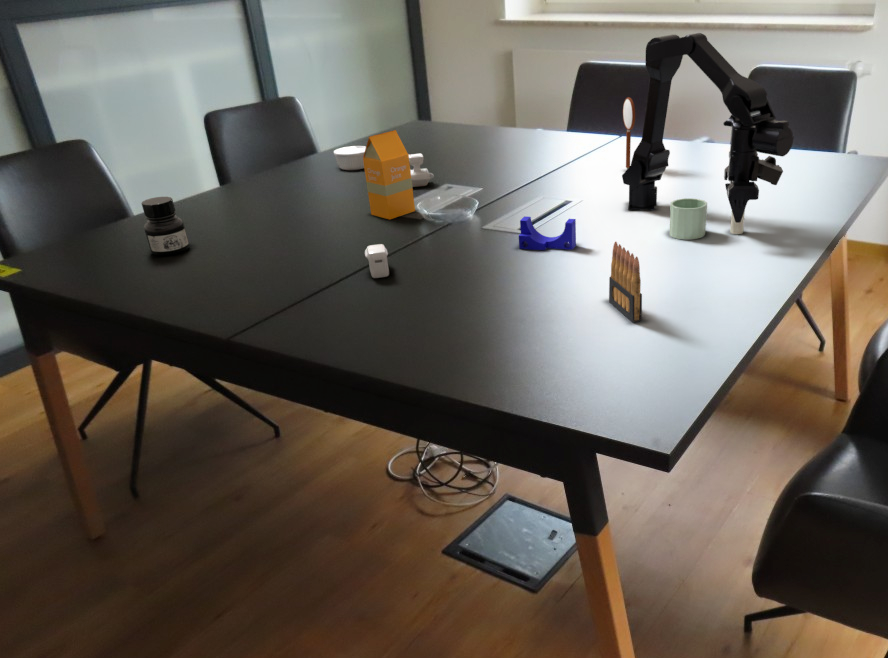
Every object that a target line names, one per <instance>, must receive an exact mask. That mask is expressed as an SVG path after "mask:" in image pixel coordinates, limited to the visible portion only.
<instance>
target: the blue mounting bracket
mask: <svg viewBox="0 0 888 658" xmlns="http://www.w3.org/2000/svg"><path fill="white" fill-rule="evenodd" d="M576 221H577V220H576V218H568V219H567V220H566V221H565V222H564V229H563V231H562V233H561V234H559V235H557V236H546V235H544V234H542V233H540V232H539V231H538V230H537V229H536V228H535V227H534V225H533V222H532V217H531V216H523V217H522V218H521V219H520V221H519V225H520V227H519V228H520V233H519V234H518V248H519V249H520V250H534V251H546V250H547V249H555V250H574V249H575V247H576V246H577V226H576V225H577V222H576Z"/></svg>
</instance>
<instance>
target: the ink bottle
mask: <svg viewBox="0 0 888 658" xmlns="http://www.w3.org/2000/svg"><path fill="white" fill-rule="evenodd" d="M140 204H141V206H142V211H143V213H144V214H143V215H144V216H145V219H146V222H145V223H144V226H143V229H144V233H145V237H146V240H147V244H148V246H149V250H150V252H151V254H152V255H155V256H161V257H164V256H172V255H176V254H181V253H183V252H185V251H187V250H188V249H189V248H190V242H189V238H188V235H187V231H186V227H185V223H184V221H183V220H182V218H180V217H178V216H177V215H176V214H177V212H176V207H175V204H174V200H173V198H172V197H171V196H155V197H151V198H147V199H145V200H143V201H141V203H140Z"/></svg>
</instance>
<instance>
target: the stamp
mask: <svg viewBox="0 0 888 658" xmlns="http://www.w3.org/2000/svg"><path fill="white" fill-rule="evenodd" d="M408 155H409V163H410V166H412V167H413V169H410V171H411V178H412V186H413V188H418V187H426V186H428V184H429V182H430V180H432V179H434V177H435V175H434V173H432V172H430V171H429V170H428V168H427V167H425V168H421V166H422V165H424V155H423V154H422V153H411V154H408Z"/></svg>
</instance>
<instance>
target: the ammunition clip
mask: <svg viewBox="0 0 888 658" xmlns="http://www.w3.org/2000/svg"><path fill="white" fill-rule="evenodd" d="M640 268H641V267H640V260H639V257H638V256H635V255H634V253H630V250H626V248H625V247H624V246H623V247H622V245H621V244H618V242H617V240H615V241H614V243H613V247H612V256H611V263H610V276H609V279H608V280H609V282H608V284H609V285H608V286H609V287H608V302H609V304H611V305H612V306H613V307H614V308H615V309H616V310H617V311H619V313H621V314H622V315H623V317H625V318H626V319H628V320H629V321H630V322H631V323H638V322H643V294H642V293H641V287H642V286H641V285H642V283H641V272H640V271H641V269H640Z"/></svg>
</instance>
